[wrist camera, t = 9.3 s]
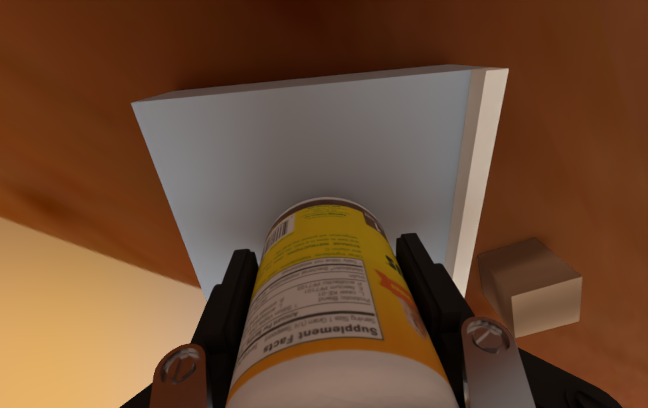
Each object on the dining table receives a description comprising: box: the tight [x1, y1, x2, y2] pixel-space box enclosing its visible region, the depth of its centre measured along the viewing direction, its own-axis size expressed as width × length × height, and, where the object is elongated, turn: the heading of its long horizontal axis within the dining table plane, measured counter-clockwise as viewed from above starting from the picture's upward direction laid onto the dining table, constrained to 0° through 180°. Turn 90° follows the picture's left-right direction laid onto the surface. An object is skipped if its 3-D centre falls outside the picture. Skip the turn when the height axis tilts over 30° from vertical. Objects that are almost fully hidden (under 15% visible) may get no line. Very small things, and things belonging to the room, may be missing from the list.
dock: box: [131, 64, 509, 302], centre depth 17 cm, size 18×14×5 cm
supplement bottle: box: [225, 197, 459, 408], centre depth 9 cm, size 6×6×10 cm
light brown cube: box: [477, 238, 582, 338], centre depth 19 cm, size 4×4×4 cm
